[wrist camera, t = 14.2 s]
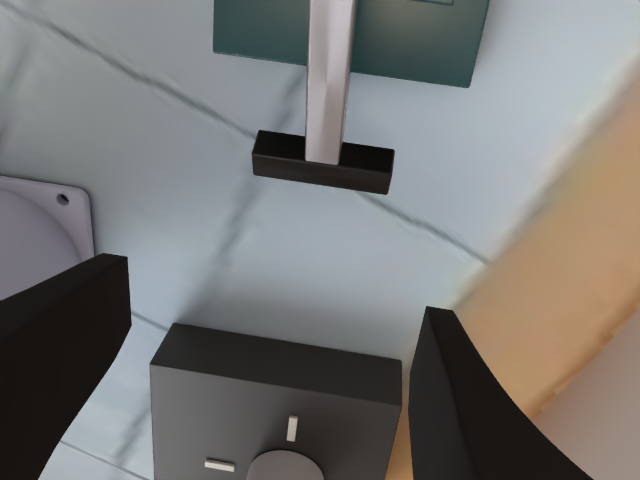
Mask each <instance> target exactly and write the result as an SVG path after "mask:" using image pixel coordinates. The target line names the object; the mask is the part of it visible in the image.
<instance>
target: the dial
mask: <svg viewBox="0 0 640 480" xmlns="http://www.w3.org/2000/svg"><path fill="white" fill-rule="evenodd" d="M246 480H324V477H323V474H322V472H321V470H320V468H319V467H318V466H317V465H316V464H315V463H314V462H313V461H312V460H310V459H309V458H307V457H305V456H304V455H301V454H299V453H296V452H291V451H285V450H276V451H270V452H266V453H264V454H261V455H260V456H258V457H257V458H256V459H255V460H254V461H253V462H252V463H251V465H250V467H249V471H248V474H247V478H246Z"/></svg>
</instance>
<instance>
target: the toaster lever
mask: <svg viewBox="0 0 640 480" xmlns="http://www.w3.org/2000/svg"><path fill="white" fill-rule="evenodd" d="M357 5H358V0H309V16H308V53H307V89H306V126H305V136H299V135H292V134H285V133H278V132H271V131H264V130H259V131H258V134H257V137H256V140H255V144H254V147H253V150H252V164H253V174H254V175H256V176H263V177H270V178H276V179H283V180H290V181H296V182H303V183H310V184H316V185H323V186H330V187H336V188H343V189H350V190H357V191H363V192H370V193H377V194H383V195H387V194H388V191H389V187H390V182H391V178H392V172H393V164H394V155H395V151H394V150H393V149H388V148H381V147H374V146H367V145H360V144H353V143H347V142H343V136H344V127H345V118H346V108H347V99H348V90H349V80H350V71H351V61H352V52H353V43H354V33H355V24H356V15H357Z"/></svg>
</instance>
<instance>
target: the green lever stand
mask: <svg viewBox="0 0 640 480" xmlns="http://www.w3.org/2000/svg"><path fill="white" fill-rule="evenodd" d="M489 3H490V0H358V5H357V15H356V24H355V33H354V43H353V52H352V61H351V71H350V72H354V73H361V74H368V75H376V76H383V77H390V78H397V79H404V80H412V81H419V82H426V83H433V84H440V85H448V86H455V87H462V88H469V87H470V84H471V79H472V75H473V71H474V67H475V62H476V58H477V54H478V50H479V45H480V41H481V37H482V32H483V28H484V24H485V20H486V15H487V11H488V7H489ZM308 16H309V0H214V24H213V52H214V53H217V54H225V55H232V56H239V57H246V58H253V59H261V60H268V61H275V62H282V63H289V64H297V65H304V66H307V53H308Z"/></svg>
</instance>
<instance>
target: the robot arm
mask: <svg viewBox="0 0 640 480" xmlns="http://www.w3.org/2000/svg"><path fill="white" fill-rule="evenodd" d="M61 194H63V195H65V196H66V197H67V198H68V200H69V202H67V201H65V200H64V199H63V198H62V196H61ZM131 326H132V324H131V307H130V290H129V274H128V257H125V256H119V255H113V254H106V253H102V254H99V255H97V256H94V247H93V236H92V225H91V213H90V202H89V197H88V195H87V194H86V192H85V191H83V190H82V189H80V188H77V187H70V186H64V185H57V184H51V183H44V182H38V181H31V180H25V179H18V178H12V177H5V176H0V480H38V478H39V477H40V475H41V473H42V471H43V469H44V467H45V465H46V464H47V462H48V460H49V458H50V456H51V454H52V453H53V451H54V449H55V447H56V446H57V444H58V443H59V441H60V439H61V438H62V436H63V435H64V433H65V432H66V430H67V429H68V427H69V426H70V424H71V423H72V421H73V420H74V419H75V417H76V416H77V414H78V413H79V411H80V410H81V408H82V407H83V406H84V404H85V403H86V401H87V400H88V398H89V397H90V395H91V394H92V393H93V391H94V390H95V388H96V387H97V385H98V384H99V382H100V381H101V379H102V378H103V376H104V375H105V374H106V372H107V371H108V369H109V368H110V366H111V365H112V363H113V362H114V360H115V358H116V356H117V354H118V352H119V350H120V348H121V347H122V345H123V342H124V340H125V338H126V336H127V334H128V332H129V330H130V328H131ZM408 415H409V429H410V442H411V455H412V467H413V480H593V479H592V478H591V477H590V476H588V475H587V474H586V473H585V472H584V471H582V470H581V469H580V468H579V467H578V466H577V465H575V464H574V463H573V462H572V461H571V460H570V459H569V458H568V457H566V456H565V455H564V454H563V453H562V452H561V451H560V450H559V449H558V448H557V447H556V446H555V445H553V444H552V443H551V442H550V441H549V440H548V439H547V438H546V437H545V436H544V435H543V434H542V433H541V432H540V431H539V430H538V428H537V427H536V426H535V425H534V424H533V423H532V422H531V421H530V420H529V419H528V418H527V417H526V415H525V414H524V413H523V412H522V411H521V410H520V409H519V408H518V406H517V405H516V404H515V403H514V402H513V401H512V399H511V398H510V397H509V395H508V394H507V393H506V392H505V390H504V389H503V388H502V386H501V385H500V384H499V382H498V381H497V380H496V378H495V377H494V375H493V374H492V372H491V371H490V369H489V368H488V366H487V365H486V364H485V362H484V361H483V359H482V358H481V356H480V355H479V353H478V351H477V350H476V348H475V347H474V345H473V343H472V342H471V340H470V338H469V337H468V335H467V333H466V332H465V330H464V328H463V327H462V325H461V323H460V321H459V320H458V318H457V316H456V315H455V313H454V312H453V310H447V309H441V308H435V307H429V306H426V309H425V314H424V318H423V322H422V326H421V330H420V334H419V338H418V342H417V347H416V351H415V355H414V359H413V363H412V367H411V371H410V383H409V405H408Z"/></svg>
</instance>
